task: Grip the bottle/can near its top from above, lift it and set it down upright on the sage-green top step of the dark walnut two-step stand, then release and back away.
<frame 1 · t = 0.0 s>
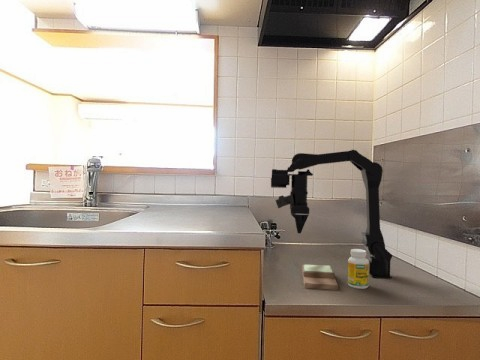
hand: (298, 231, 121), 15 cm above the worktop, tool pointing down, fingers open, 9 cm apart
step stand: (318, 280, 111), on the worktop
supplement bottle: (358, 286, 106), on the worktop
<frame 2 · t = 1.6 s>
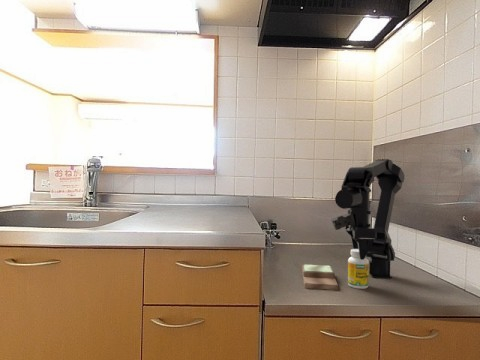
hand: (358, 255, 106), 10 cm above the worktop, tool pointing down, fingers open, 9 cm apart
nothing on the worktop moved.
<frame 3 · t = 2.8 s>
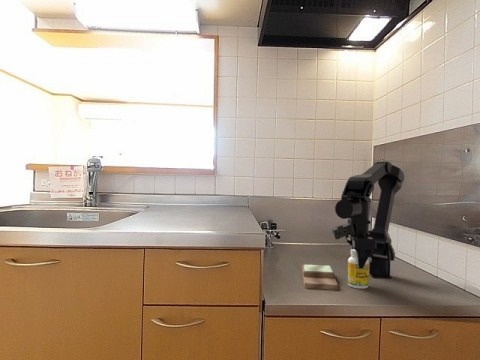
hand: (358, 265, 106), 7 cm above the worktop, tool pointing down, fingers closed on supplement bottle, 6 cm apart
supplement bottle: (358, 286, 106), on the worktop, touching gripper
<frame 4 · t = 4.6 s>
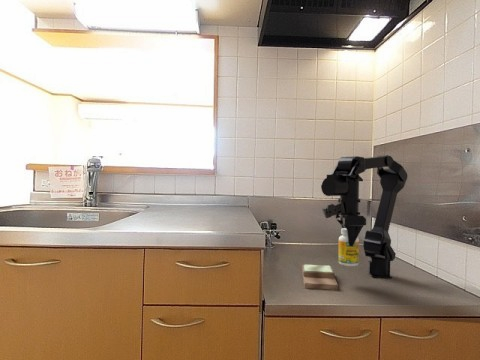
hand: (348, 243, 108), 13 cm above the worktop, tool pointing down, fingers closed on supplement bottle, 6 cm apart
supplement bottle: (348, 264, 108), point 6 cm above the worktop, touching gripper
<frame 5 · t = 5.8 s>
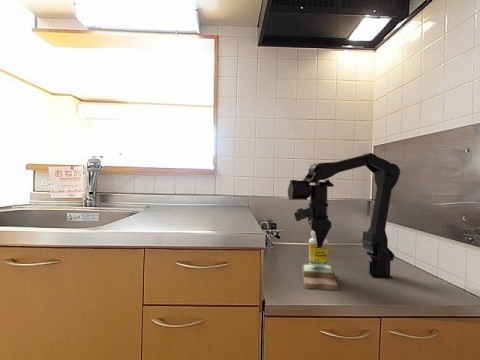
hand: (318, 245, 114), 11 cm above the worktop, tool pointing down, fingers closed on supplement bottle, 6 cm apart
supplement bottle: (318, 265, 114), point 4 cm above the worktop, touching gripper
when the fingers open (11 cm above the worktop, at t = 6.6 s): supplement bottle drops 1 cm, resting on step stand.
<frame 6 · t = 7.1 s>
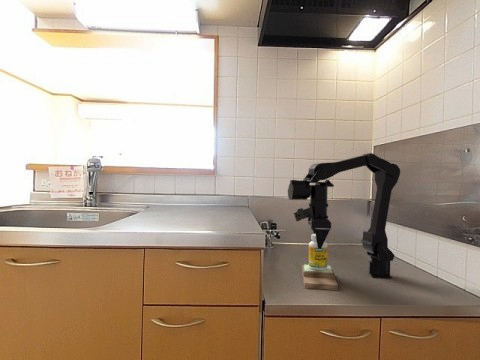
hand: (318, 245, 114), 11 cm above the worktop, tool pointing down, fingers open, 9 cm apart
supplement bottle: (317, 268, 114), point 3 cm above the worktop, touching step stand
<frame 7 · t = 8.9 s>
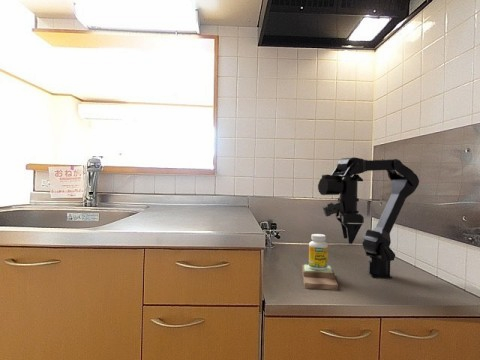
hand: (347, 240, 113), 13 cm above the worktop, tool pointing down, fingers open, 9 cm apart
nothing on the worktop moved.
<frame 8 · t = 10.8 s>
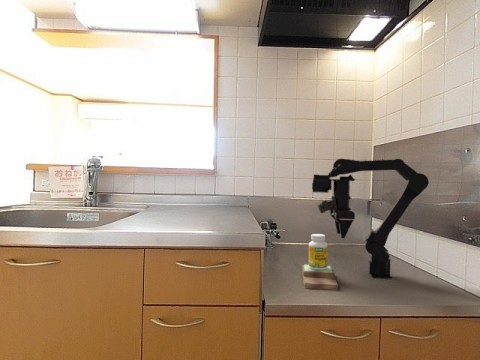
hand: (340, 235, 122), 13 cm above the worktop, tool pointing down, fingers open, 9 cm apart
nothing on the worktop moved.
at the end: supplement bottle inside the target area on the step stand (0.1 cm from its centre), point 3.1 cm above the step stand's base; supplement bottle tilted 0°; the gripper is holding nothing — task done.
